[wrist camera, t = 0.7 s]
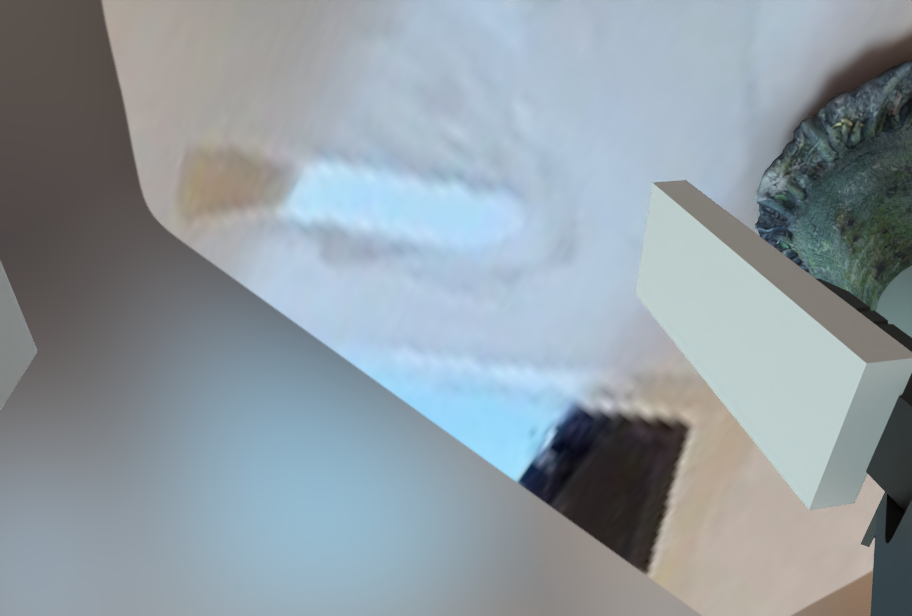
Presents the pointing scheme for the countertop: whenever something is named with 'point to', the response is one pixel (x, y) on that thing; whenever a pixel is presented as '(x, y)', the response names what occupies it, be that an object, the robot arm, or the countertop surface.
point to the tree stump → (850, 195)
